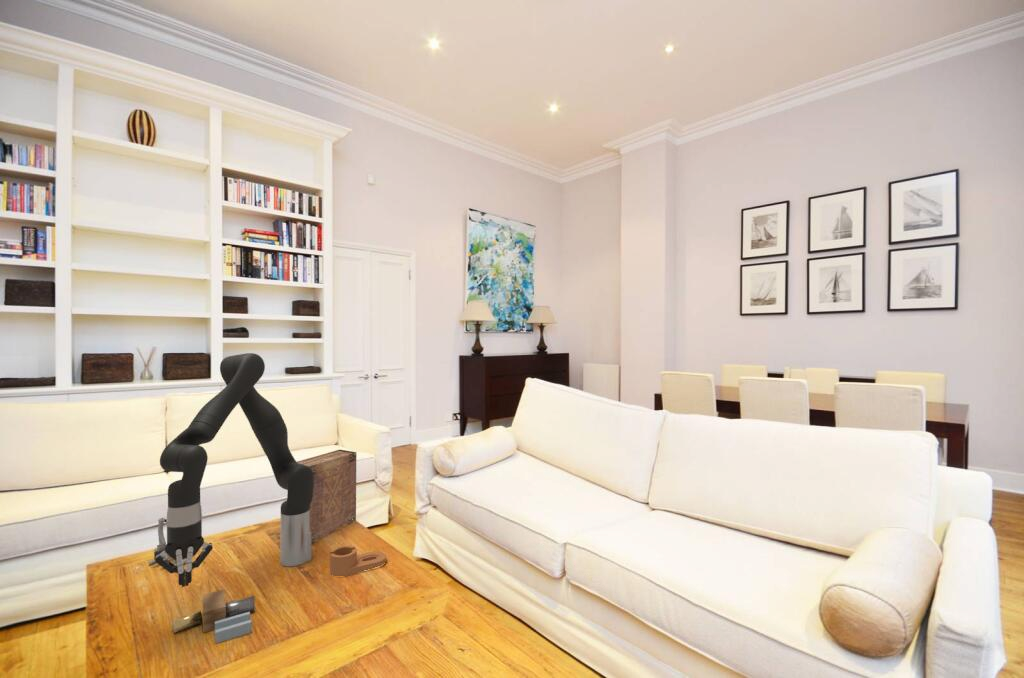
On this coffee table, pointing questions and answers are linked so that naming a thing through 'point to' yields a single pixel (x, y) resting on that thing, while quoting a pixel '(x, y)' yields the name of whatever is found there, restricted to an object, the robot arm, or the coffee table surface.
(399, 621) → the coffee table surface
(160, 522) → the bike brake
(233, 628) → the cradle
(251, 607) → the axle
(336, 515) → the book
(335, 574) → the bracket
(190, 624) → the cylinder
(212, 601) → the beam
